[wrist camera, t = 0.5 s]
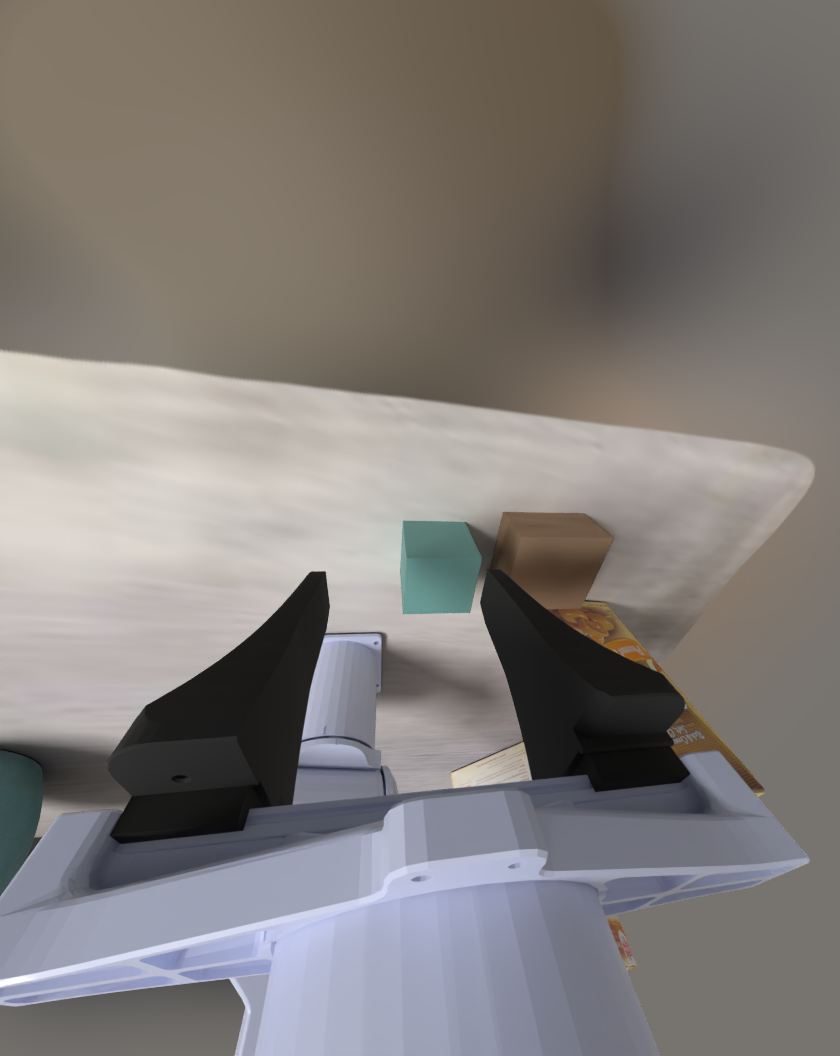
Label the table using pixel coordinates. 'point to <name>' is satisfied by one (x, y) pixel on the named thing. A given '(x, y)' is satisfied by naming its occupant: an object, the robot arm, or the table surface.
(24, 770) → the green bowl
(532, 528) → the block
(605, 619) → the candy box
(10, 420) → the table surface
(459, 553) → the teal cube
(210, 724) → the robot arm
